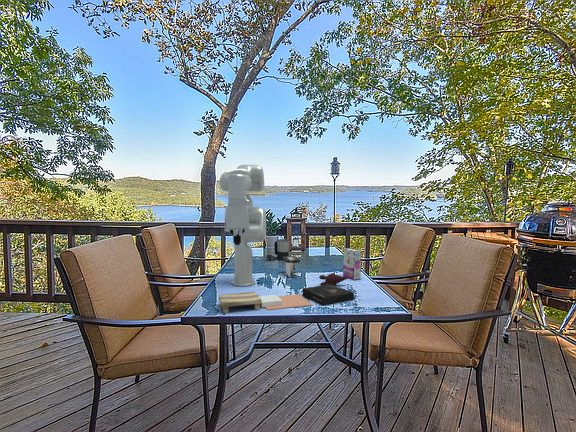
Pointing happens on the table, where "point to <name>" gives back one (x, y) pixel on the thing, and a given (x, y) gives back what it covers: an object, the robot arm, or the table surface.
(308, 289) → the portable cd player
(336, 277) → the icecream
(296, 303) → the mat
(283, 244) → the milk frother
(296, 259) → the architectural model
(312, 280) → the table surface
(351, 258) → the candy bar box
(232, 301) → the serving board
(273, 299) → the coaster
